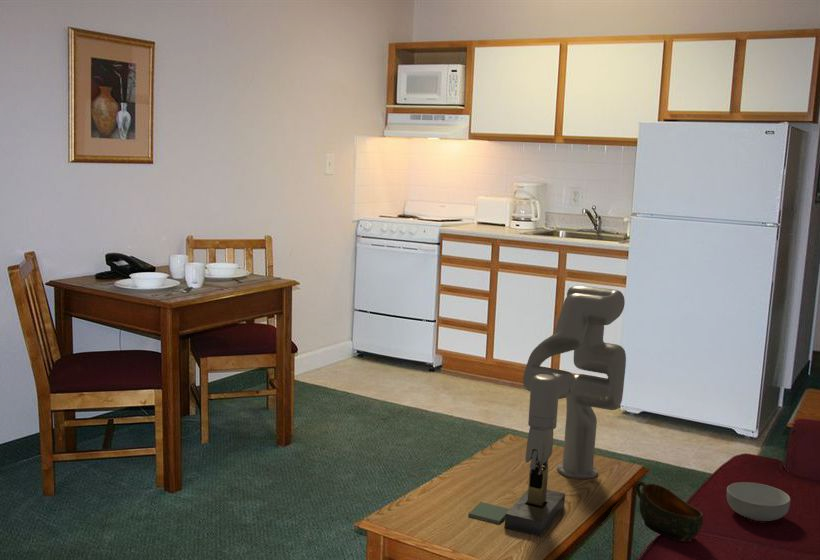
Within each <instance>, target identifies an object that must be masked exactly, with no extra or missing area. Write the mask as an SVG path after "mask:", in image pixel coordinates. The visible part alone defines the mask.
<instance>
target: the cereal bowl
mask: <svg viewBox="0 0 820 560" xmlns="http://www.w3.org/2000/svg"><path fill="white" fill-rule="evenodd" d="M726 500H727V503H728V505H729V507H730V508H731V509H732V510H733V511H734V512H735V513H737V515H738V514H739V515H740V516H742V517H743V516H744V517H743V518H745V517H747V518H750V519H754V520H761V521H769V522H770V521H775V520H779V519H781V518H783V517H784V516H785V515H787V513H788V512H789V509H790V506H791V497H790V496H789V494H788V493H786V492H785V491H783V490H781V489H779V488H776V487H774V486H771V485H767V484H763V483H758V482H749V481H747V482H746V481H742V482H741V481H740V482H733V483H731V484H729V485H728V486H727V487H726Z"/></svg>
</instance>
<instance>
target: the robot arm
mask: <svg viewBox="0 0 820 560" xmlns="http://www.w3.org/2000/svg"><path fill="white" fill-rule="evenodd" d="M566 292H567V293H566V297H565V299H564V301H563V304H562V307H561V310H560V313H559V316H558V319H557V323H556V325H555V328H554V332H553V334H552V335H550V336H549V337H547V338H546V339H544V340H542V341H541V342H540V343H539V344H538V345H537V346H536V347H535V348H534V349H533V350H532V351H531V353H530V355H529V357H528V360H527V363H526V365H525V368H524V372H523V376H522V385H523V388H524V389H525V390H526V391H527V392H529V393H530V394H529V408H528V409H529V410H528V424H527V425H528V427H529V429H528V430H529V431H528V435H527V436H528V437H527V442H526V450H525V459H524V461H525V462H526V463H529V462H530V464H529V473H530V487H533V488H538V489H541V487H542V474H541V471H542V465H543V466H547V467H548V468H549V459H550V458H551V456H552V453H553V447H554V446H553V445H554V430H555V429H556V428H557V421H558V410H559V409H558V408H559V407H558V406H559V400H561V399H565V400H566V411H565V412H566V414H565V415H566V416H565V427H564V428H565V429H564V440H563V441H564V442H563V452H562V453H563V454H562V462H560V463H558V464H557V468H556V469H557V471H558V473H559V474H560V475H562V476H563V475H564V476H565V477H568V478H573V479H579V480H582V479H584V480H586V479H587V480H588V479H593V478H595V477H597V476H598V473H599V472H598V471H599V470H598V469H597V468H596V467H595V466H594V461H595V460H594V458H595V448H596V447H595V446H596V435H597V427H598V425H597V424H598V421H597V419H598V418H597V416H596V413H595V412H594V410H593V408H596V409H602V410H607V411H608V410H609V411H615V410H618V409H619V408H620V407H621V404H622V401H623V395H624V387H625V386H624V385H625V378H626V377H625V376H626V369H627V368H626V367H627V366H626V365H627V354H626V351H625V348H624V347H622V346H621V345H619V344H615V343H610V342H605V341H604V335H605V334H604V333H605V326H609V325H610V324H612V323H614V322H615V321H616V320H617V319H618V318H619V317H620V316H621V315H622V313H623V311H624V309H625V308H624V307H625V305H626V304H625V302H626V301H625V296H624V294H623V292H621V291H620V290H617V289H611V288H605V287H596V286H587V285H573V286H571V287H569V288H568V290H567V291H566ZM572 351H573V364H574V366H575V367H576V368H577V369H579V370H582V371H586V372H591V373H598V374H604V375H606V376H607V377H601V376H596V375H591V374H590V375H589V374H585V373H584V374H583V373H576V374H573V373H571V371H566V370H563V369H558V368H557V369H556V368H553V367H547V366H541V365H542V363H544V362H545V361H546V360H548V359H549V358H551V357H553V356H557V355H561V354H564V353H569V352H572ZM536 465H538V466H539V469H538V467H536ZM530 469H531V470H530Z"/></svg>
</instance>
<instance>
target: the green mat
mask: <svg viewBox="0 0 820 560" xmlns="http://www.w3.org/2000/svg"><path fill="white" fill-rule="evenodd" d="M509 509H510V508H507V507H503V506H499V505H495V504H491V503H488V502H487V503H486V502H483V501H480V502H479V503H478V504H477V505H476V506H475V507H473V509H471V510H470V512H468V517H469V518H470V517H471V518H475V519H477V520H478V519H479V520H482V521H487V522H490V523H494V524H498V525H499V524H501V523H502V522H503V521H504V520H505V513H506V512H507V511H508V510H509Z"/></svg>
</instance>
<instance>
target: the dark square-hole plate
mask: <svg viewBox="0 0 820 560" xmlns="http://www.w3.org/2000/svg"><path fill="white" fill-rule="evenodd" d="M565 500H566V493H564V492H559V491H555V490H550V489H547V493H546V502H545V503H544V504H543V505H542V506H537V505H533V504H529V503H527V502H528V489H527V490H526V491H525V492H524V493H523V494H522V496H520V497H519V498H518V500H517V501H516V502H515V503H514V504H513V505H512V506H510V508H508V509H509V510H508V511H507V512H506V513H505V518H504V529H509V530H513V531H516V532H521V533H525V534H528V535H533V536H535V537H542V536H543V535H544V533H545V532H546V531H547V530H548V529H549V527H550V525H552V523H553V522H554V521H555V520H556V518H557V516H558V515H559V514H560V513H561V511H562V510H563V509H564V508H565V502H566V501H565Z"/></svg>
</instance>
